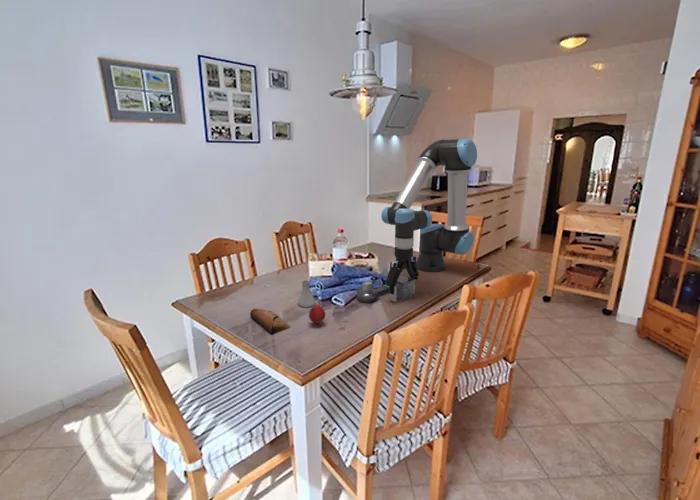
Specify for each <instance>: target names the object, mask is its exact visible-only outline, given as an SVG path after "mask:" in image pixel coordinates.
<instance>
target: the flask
mask: <svg viewBox="0 0 700 500" xmlns="http://www.w3.org/2000/svg"><path fill="white" fill-rule="evenodd" d="M310 283H311V281H310V280H309V279H305V280H302V281H301V284H302V286H301V287H302V288H301V292H300V296H299V298H298V301H297V305H298V306H299V307H301V308H312V307H314V306H315V305H316V304H317V302H316V300H315V297H314V295H313V294H312V293H313V292H312V291H311V287H310Z"/></svg>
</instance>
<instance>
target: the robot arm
mask: <svg viewBox="0 0 700 500" xmlns="http://www.w3.org/2000/svg"><path fill="white" fill-rule="evenodd" d="M477 159H478V150H477V145H476V144H475V142H474V141H473V140H471V139H468V138H455V139H438V140H436V141H434V142H432V143H430V144H429V145H428V146H427V147H426V148H425V149H424V150H423V151H422V152H421V153H420V154H419V156H418V158H417V160H416V165H415V166H414V169H413V170H412V172H411V173H410V175H409V177H408V178H407V179H406V182H405V183H404V185H403V187H402V188H401V190H400V191H399V194H398V195H397V197H396V198H395V200H394V202H393V203H392V205H391V206H387V207H384V208H383V210H382V212H381V216H380V217H381V220H382V222H383V223H384V224H387V225H391V226H395V227H394V229H395V230H394V231H395V232H394V256H395V261H390V263H389V270H388V275H387V277H386V281H385V284H386V285H387V286H390V293H389V296H390V298H389V300H390V301H391V302H394V303H395V302H397V299H396V289H397V287H396V286H395V285H396V283H397V280H398V278H399V277H400V275H401V274H402V272H403V270H406V271H407V273H408V274H407V275H408V276H409V278H411V279H414V291H415V287H416V280H418V277H419V276H420V273H419V271H423V272H428V273H429V272H431V273H434V272H442V271H444V270H445V269H446V261H445V258H444V252H445V253H449V254H450V253H451V254H455V255H462V256H464V255H466V254H467V253H469V251H471V248H472V246H473V244H474V237H475V236H474V233H473V232H472V231H470V226H469V225H468V224H467V204H468V203H467V202H468V174H469V173H470V172H471V170H472V167H474V165H475V164H476V162H477ZM440 166H444V171H445V172H446V173H447V174H448V175H447V221H446V224H443V223H432V222H433V216H432V213H431V212H430V211H429V210H426V209H423V210H422V209H420V210H414V209H412V208H411V207H412V206H413V203H414V202H415V201H416V199H417V196H418V195H419V194H420V192H421V190H422V188H423V187H424V185H425V183H426V182H427V179H428V178H429V176H430V175H431V173H433V172H434V171H436V169H437V167H440ZM417 230H420V236H419V237H420V238H419V242H420V243H419V254H418V257H417V256H414V241H415V240H414V239H415V238H414V236H415V235H414V232H415V231H417Z"/></svg>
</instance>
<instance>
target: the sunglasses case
mask: <svg viewBox="0 0 700 500" xmlns="http://www.w3.org/2000/svg"><path fill="white" fill-rule="evenodd" d="M249 315H250V317H251V318H252V319H253V320H255V321H256V322H257V323H259V324H260V325H261V326H262V327H263V328H265V329H266V330H267V331H268V332H269V333H271V334H272V335H275V334H278V333H281V332H282V331H286V330H288V329H291V328H292V327H291V325H290V324H289V323H288V322H286V321H285V320H284V319H282V318H281V317H280V316H279V315H278V314H277V313H275V312H273V311H272V310H266V309H260V308H252V309H251V310H250V313H249Z"/></svg>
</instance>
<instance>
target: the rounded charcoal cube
mask: <svg viewBox="0 0 700 500" xmlns="http://www.w3.org/2000/svg"><path fill="white" fill-rule="evenodd" d="M395 286H396V287H397V289H396V300H397V301H401V302H403V303H404V302H406V301H408V300H411V299H413V298H415V296H414V294H415V290H414V279H411V278H410V277H407V276H404V275H401V276H399V278H398V280H397V283H396V285H395Z"/></svg>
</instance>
